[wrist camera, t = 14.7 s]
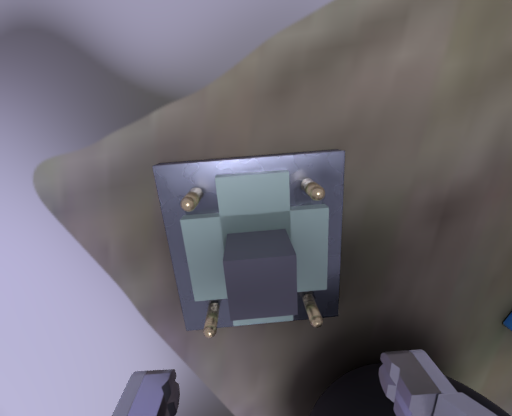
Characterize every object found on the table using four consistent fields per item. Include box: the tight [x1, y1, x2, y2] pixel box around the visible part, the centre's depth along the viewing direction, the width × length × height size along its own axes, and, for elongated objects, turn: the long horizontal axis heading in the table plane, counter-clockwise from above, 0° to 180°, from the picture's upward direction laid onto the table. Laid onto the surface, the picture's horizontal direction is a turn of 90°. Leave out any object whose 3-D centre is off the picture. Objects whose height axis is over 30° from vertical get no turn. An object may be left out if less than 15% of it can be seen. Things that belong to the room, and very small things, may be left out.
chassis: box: [152, 149, 345, 338], centre depth 19 cm, size 14×15×5 cm
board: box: [180, 170, 329, 326], centre depth 17 cm, size 11×13×5 cm
